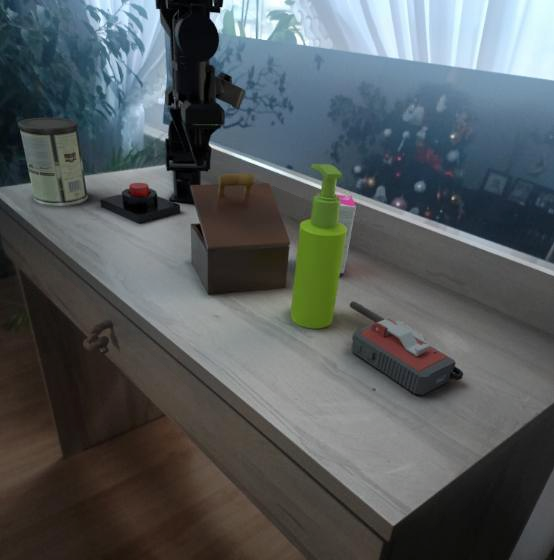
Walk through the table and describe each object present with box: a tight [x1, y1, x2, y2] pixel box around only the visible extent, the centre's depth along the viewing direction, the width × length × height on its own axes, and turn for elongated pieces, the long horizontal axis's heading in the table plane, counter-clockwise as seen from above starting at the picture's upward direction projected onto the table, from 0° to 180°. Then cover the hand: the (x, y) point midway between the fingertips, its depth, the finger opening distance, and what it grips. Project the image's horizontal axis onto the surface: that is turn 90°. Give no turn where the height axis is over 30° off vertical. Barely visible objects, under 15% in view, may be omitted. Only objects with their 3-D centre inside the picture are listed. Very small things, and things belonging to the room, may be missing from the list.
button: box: [128, 182, 150, 196], centre depth 99 cm, size 4×4×2 cm
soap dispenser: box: [290, 163, 347, 330], centre depth 66 cm, size 6×7×20 cm
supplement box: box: [317, 192, 357, 277], centre depth 82 cm, size 6×6×12 cm
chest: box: [190, 222, 290, 296], centre depth 79 cm, size 11×12×7 cm
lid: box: [190, 173, 291, 251], centre depth 74 cm, size 12×12×4 cm
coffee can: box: [17, 117, 89, 207], centre depth 99 cm, size 10×10×14 cm
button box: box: [99, 188, 181, 225], centre depth 100 cm, size 10×12×4 cm
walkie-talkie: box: [349, 300, 464, 396], centre depth 65 cm, size 9×4×20 cm
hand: (193, 158), depth 90 cm, fingers open, 9 cm apart
